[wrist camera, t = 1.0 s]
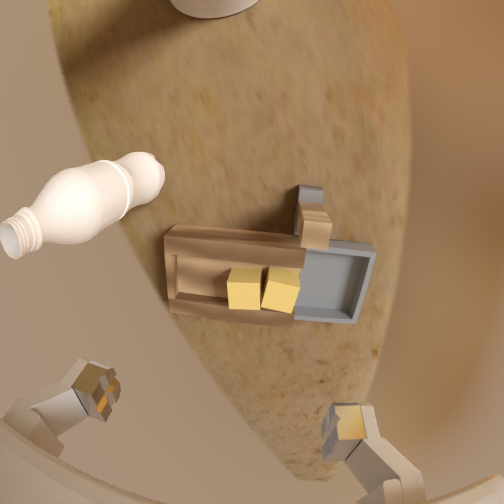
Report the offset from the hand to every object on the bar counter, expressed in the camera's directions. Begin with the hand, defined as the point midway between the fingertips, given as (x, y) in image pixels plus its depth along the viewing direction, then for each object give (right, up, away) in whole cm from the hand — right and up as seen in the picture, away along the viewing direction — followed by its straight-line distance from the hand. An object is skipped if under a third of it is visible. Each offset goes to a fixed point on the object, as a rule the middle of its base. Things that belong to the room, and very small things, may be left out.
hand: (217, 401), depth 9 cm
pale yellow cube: (+5, 0, +27) cm, 28 cm away
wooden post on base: (+9, +11, +28) cm, 31 cm away
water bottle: (-13, +16, +28) cm, 35 cm away
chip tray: (+13, +2, +32) cm, 34 cm away
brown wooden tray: (-1, +3, +32) cm, 33 cm away
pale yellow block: (0, +1, +28) cm, 28 cm away
